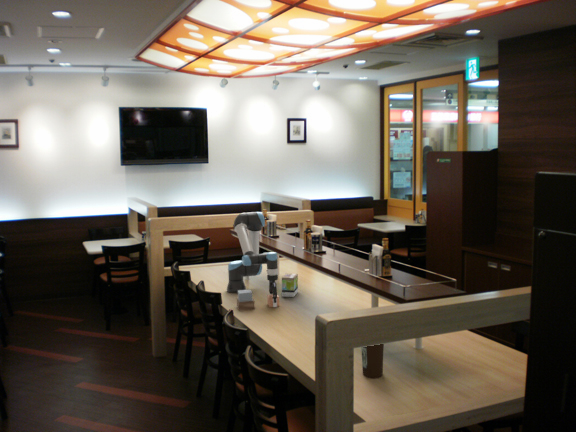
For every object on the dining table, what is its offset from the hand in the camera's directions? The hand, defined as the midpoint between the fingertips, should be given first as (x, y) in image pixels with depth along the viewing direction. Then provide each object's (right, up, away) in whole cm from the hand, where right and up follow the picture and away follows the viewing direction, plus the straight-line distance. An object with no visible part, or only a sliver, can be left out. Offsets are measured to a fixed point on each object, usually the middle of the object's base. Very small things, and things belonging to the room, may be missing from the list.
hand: (273, 304), depth 367 cm
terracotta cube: (0, 0, 0) cm, 0 cm away
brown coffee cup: (+51, -12, -121) cm, 132 cm away
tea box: (+12, +3, +28) cm, 31 cm away
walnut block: (-19, -2, -4) cm, 20 cm away
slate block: (-20, +4, -5) cm, 21 cm away
